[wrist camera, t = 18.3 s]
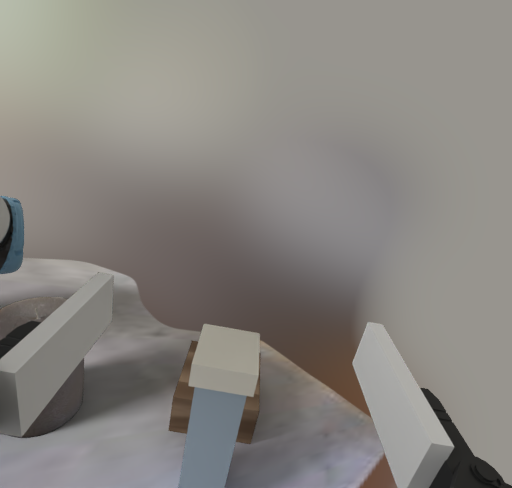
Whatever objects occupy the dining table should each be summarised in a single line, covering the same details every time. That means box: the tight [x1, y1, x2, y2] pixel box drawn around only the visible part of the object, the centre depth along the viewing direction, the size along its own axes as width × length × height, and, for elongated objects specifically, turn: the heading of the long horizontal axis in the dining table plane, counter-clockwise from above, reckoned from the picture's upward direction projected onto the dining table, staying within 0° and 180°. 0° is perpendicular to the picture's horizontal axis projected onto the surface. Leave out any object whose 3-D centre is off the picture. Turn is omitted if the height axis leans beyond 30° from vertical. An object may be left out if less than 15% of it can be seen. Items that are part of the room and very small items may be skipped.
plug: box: [178, 324, 260, 488], centre depth 32 cm, size 6×6×20 cm
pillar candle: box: [0, 297, 84, 438], centre depth 39 cm, size 10×10×15 cm
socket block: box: [169, 341, 260, 444], centre depth 46 cm, size 11×11×6 cm
